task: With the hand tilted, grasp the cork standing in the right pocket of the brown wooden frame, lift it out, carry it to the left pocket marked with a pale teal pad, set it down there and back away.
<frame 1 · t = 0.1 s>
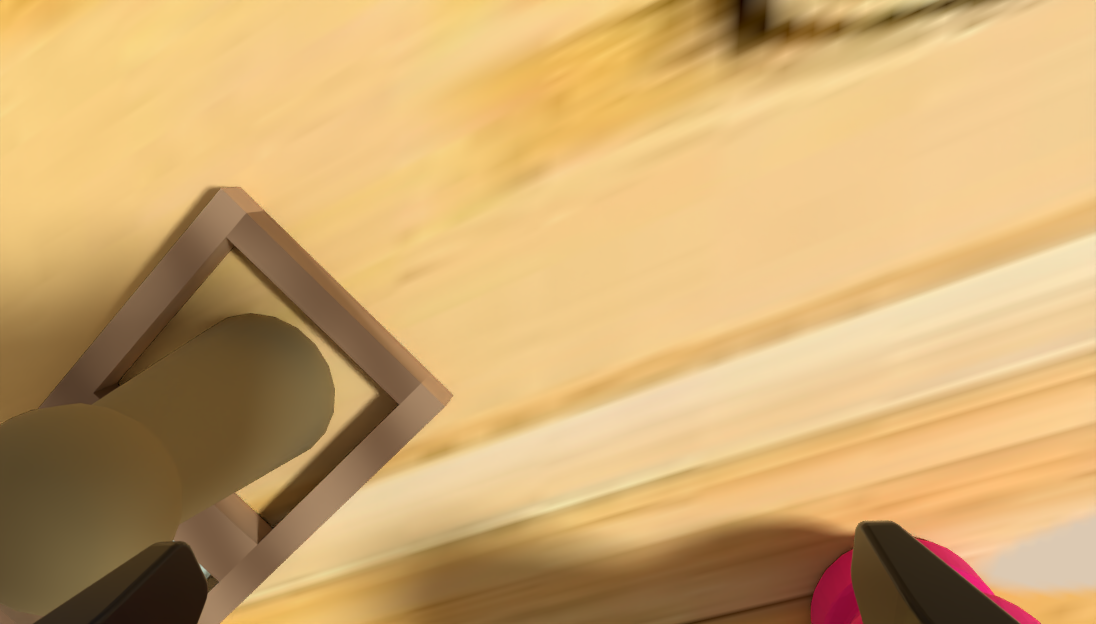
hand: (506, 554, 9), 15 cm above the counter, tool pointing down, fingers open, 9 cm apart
cork: (263, 387, 26), resting in brown wooden frame
brown wooden frame: (177, 475, 27), on the counter
pepper mill: (892, 606, 25), on the counter
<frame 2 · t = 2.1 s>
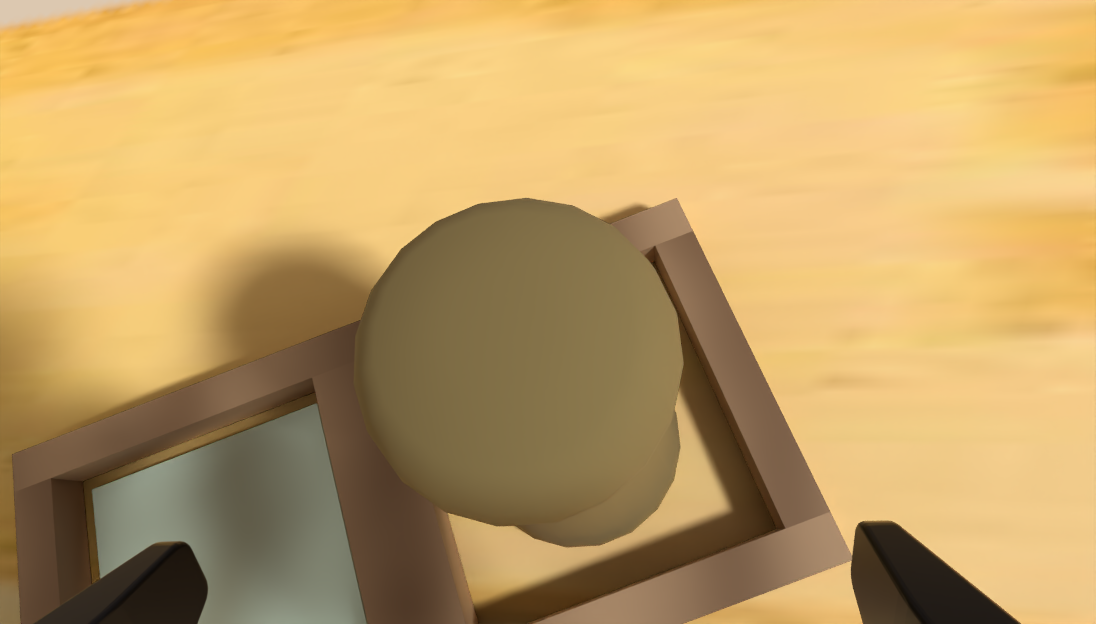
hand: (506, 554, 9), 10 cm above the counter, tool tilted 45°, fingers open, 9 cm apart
cork: (576, 439, 20), resting in brown wooden frame
brown wooden frame: (400, 503, 19), on the counter
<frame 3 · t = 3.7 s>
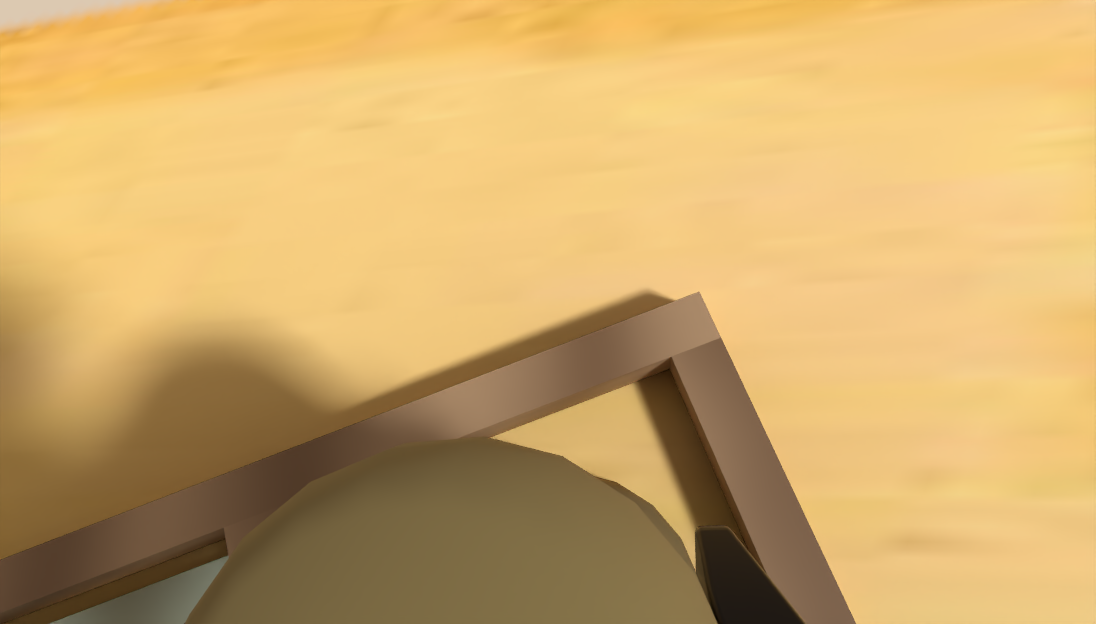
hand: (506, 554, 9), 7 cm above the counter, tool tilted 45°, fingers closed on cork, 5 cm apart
cork: (567, 610, 15), resting in brown wooden frame, touching gripper
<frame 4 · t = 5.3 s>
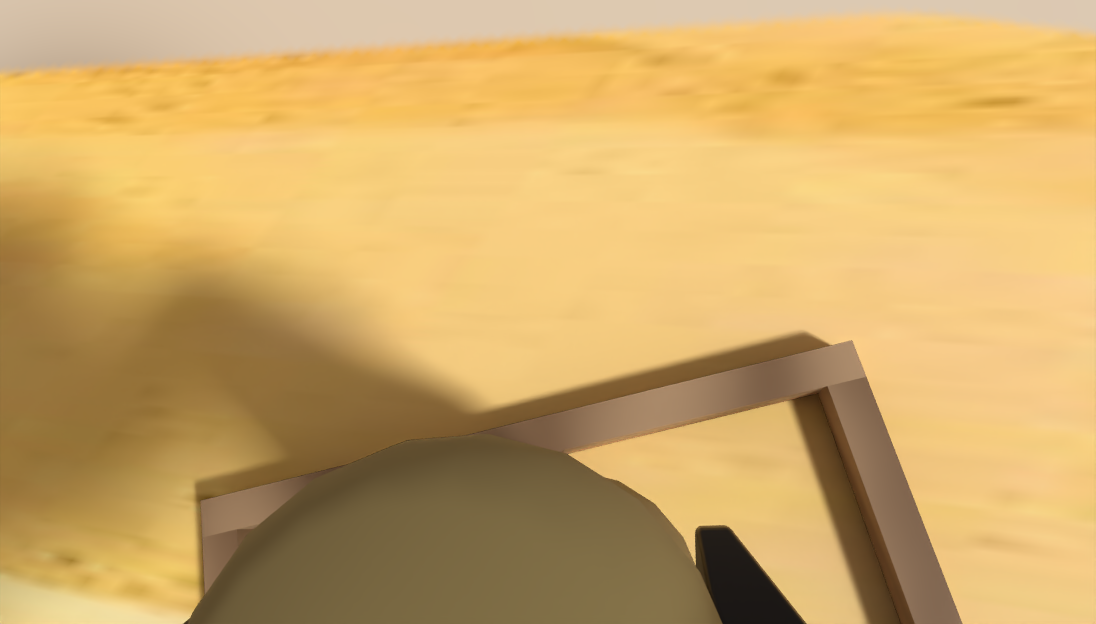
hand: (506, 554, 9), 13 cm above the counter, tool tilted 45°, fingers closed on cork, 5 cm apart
cork: (569, 608, 15), point 6 cm above the counter, touching gripper
brown wooden frame: (557, 597, 21), on the counter
when the fingers open (8 cm above the counter, at t = 7.1 s): cork stays where it is, resting on brown wooden frame.
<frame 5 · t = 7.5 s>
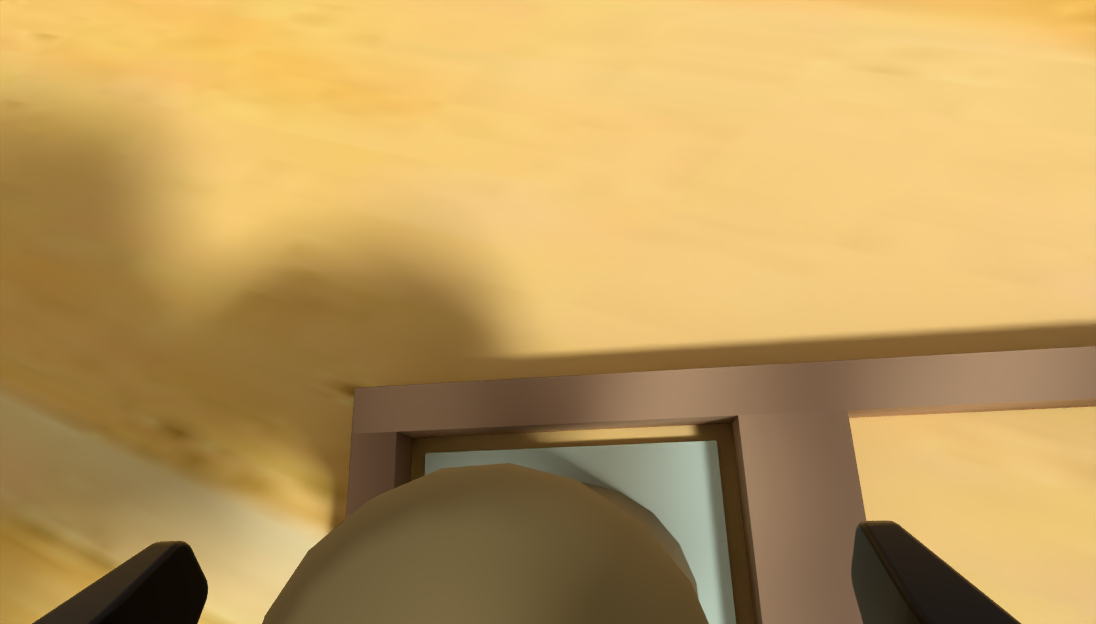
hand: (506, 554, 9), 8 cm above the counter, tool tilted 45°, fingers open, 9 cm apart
cork: (574, 610, 16), resting on brown wooden frame
brown wooden frame: (807, 602, 15), on the counter
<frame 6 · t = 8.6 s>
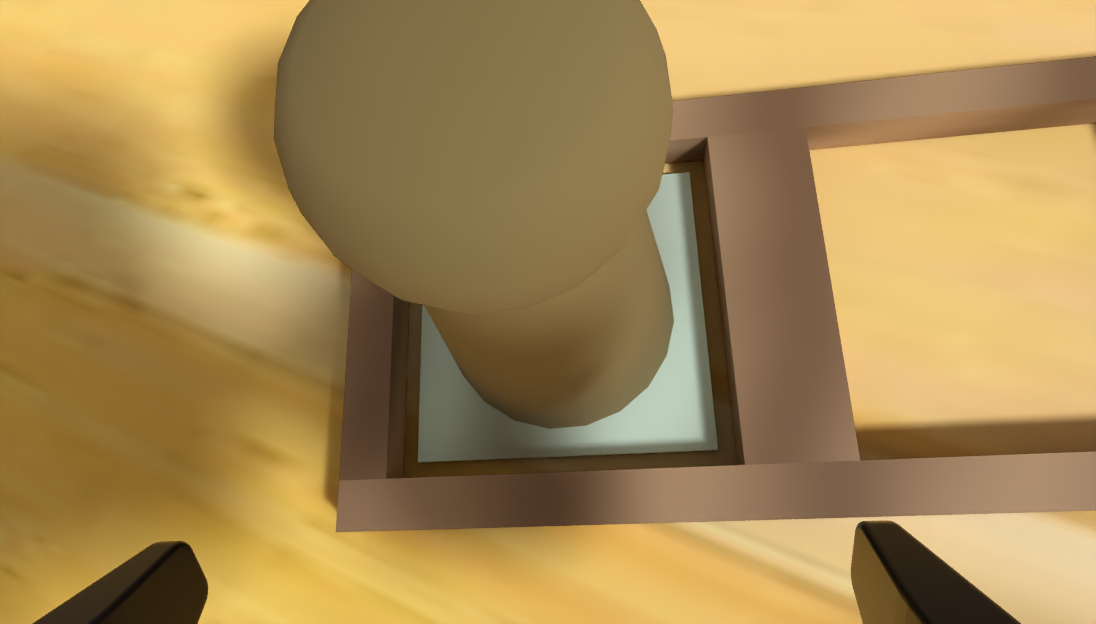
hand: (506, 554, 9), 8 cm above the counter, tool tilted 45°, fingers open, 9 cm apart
cork: (560, 317, 18), resting on brown wooden frame
brown wooden frame: (768, 299, 17), on the counter
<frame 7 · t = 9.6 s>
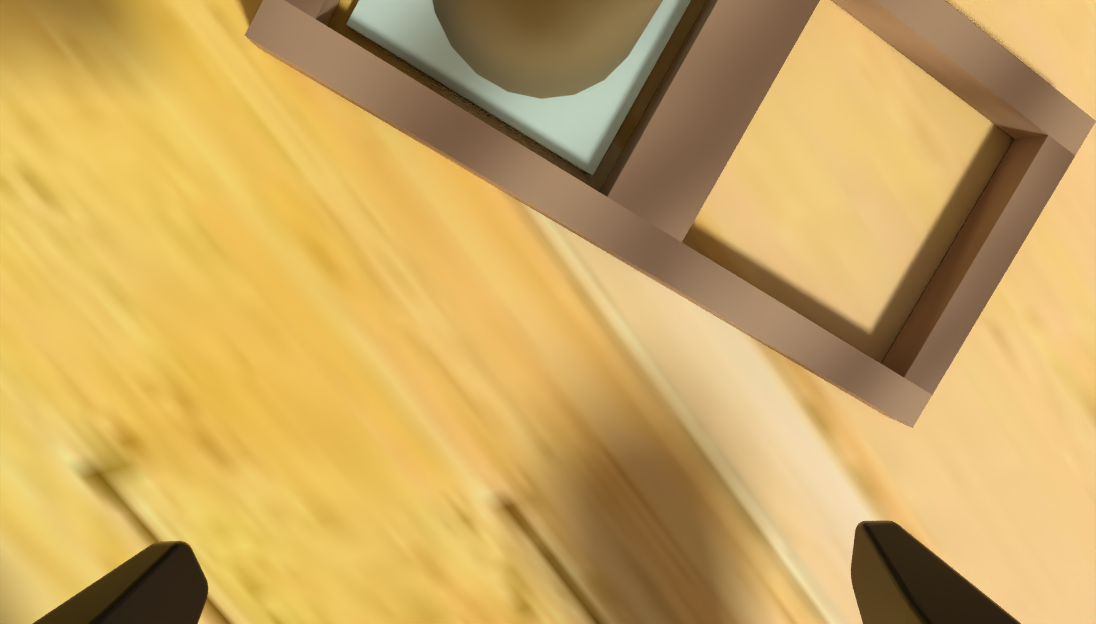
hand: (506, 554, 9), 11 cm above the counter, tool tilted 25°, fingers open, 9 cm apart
brown wooden frame: (704, 91, 19), on the counter
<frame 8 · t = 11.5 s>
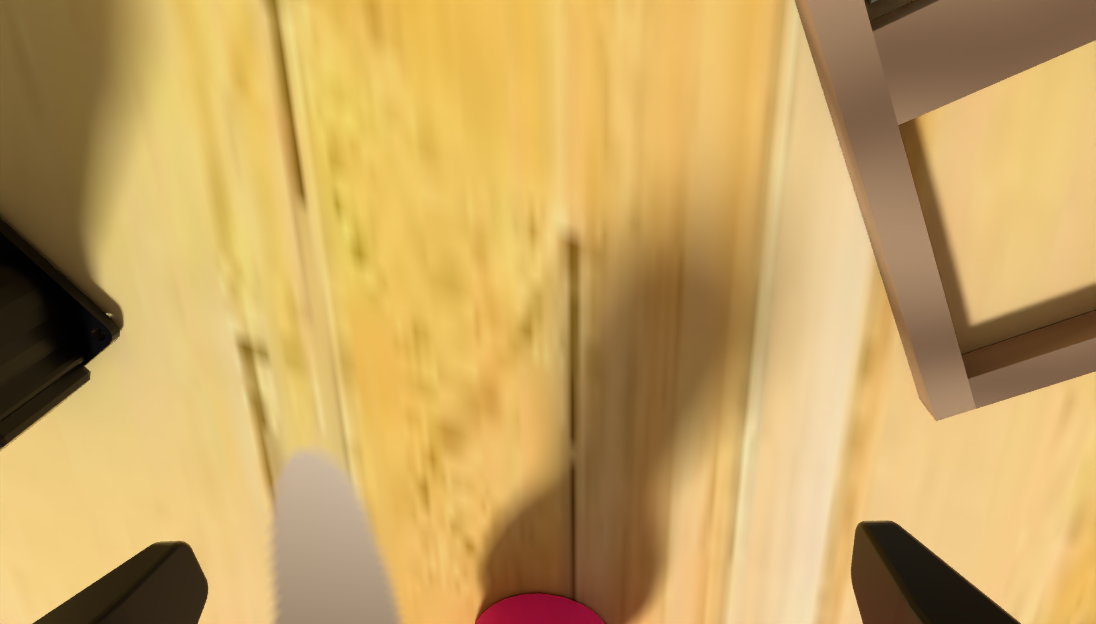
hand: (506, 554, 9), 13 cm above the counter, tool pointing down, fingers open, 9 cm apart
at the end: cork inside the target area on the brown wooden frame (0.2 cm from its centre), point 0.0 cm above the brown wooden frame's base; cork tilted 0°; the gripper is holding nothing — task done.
